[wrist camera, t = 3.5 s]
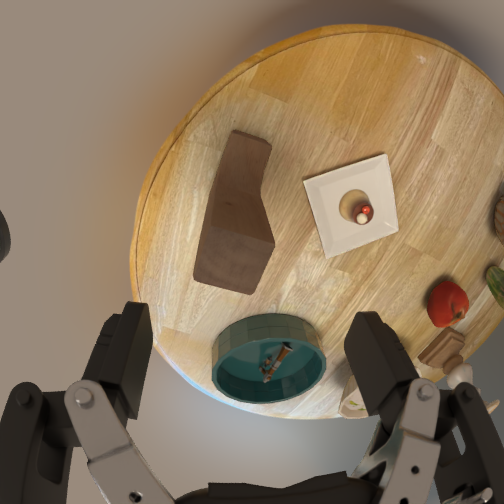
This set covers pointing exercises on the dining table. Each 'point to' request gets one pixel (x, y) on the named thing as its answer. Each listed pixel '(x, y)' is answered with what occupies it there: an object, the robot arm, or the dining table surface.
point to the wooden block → (236, 219)
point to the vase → (499, 219)
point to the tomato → (447, 304)
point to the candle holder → (451, 360)
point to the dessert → (353, 205)
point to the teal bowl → (258, 350)
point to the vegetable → (496, 283)
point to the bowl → (354, 400)
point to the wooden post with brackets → (276, 363)
